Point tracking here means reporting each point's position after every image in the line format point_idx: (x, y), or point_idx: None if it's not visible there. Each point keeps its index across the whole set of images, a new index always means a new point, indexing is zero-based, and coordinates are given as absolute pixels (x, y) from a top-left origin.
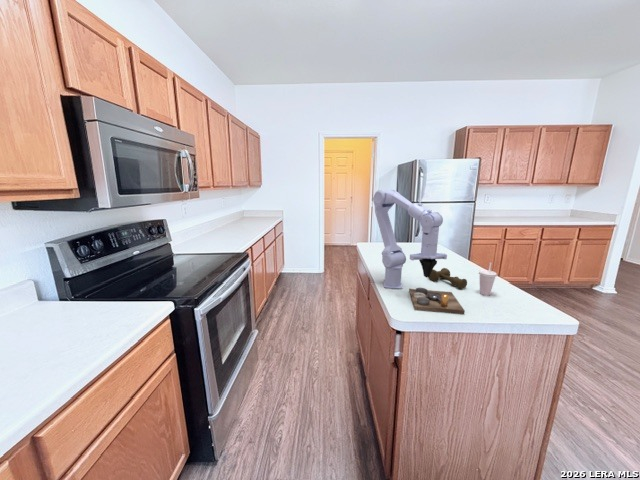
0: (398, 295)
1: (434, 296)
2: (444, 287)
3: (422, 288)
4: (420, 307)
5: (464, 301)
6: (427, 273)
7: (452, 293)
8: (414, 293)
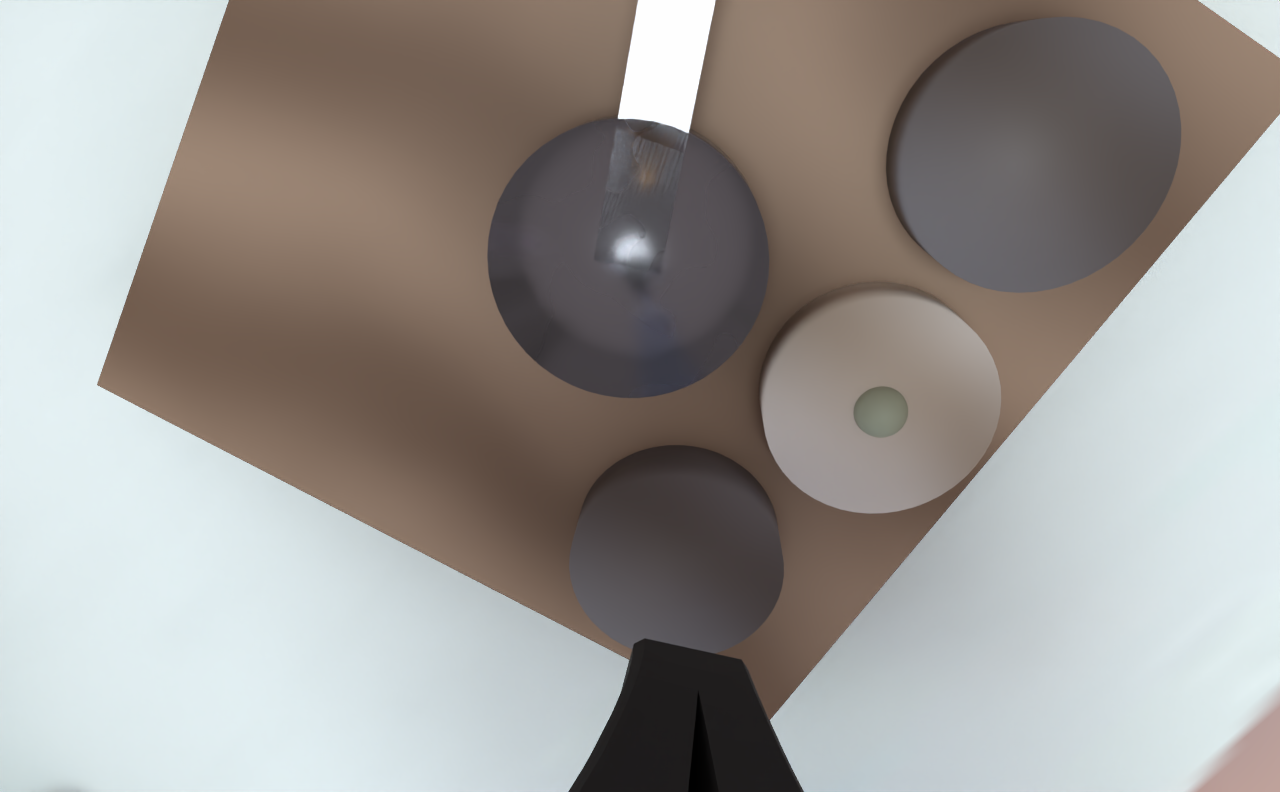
0: (1022, 644)
1: (683, 208)
2: (63, 633)
3: (619, 607)
4: (1205, 16)
5: (49, 69)
6: (752, 747)
7: (118, 325)
8: (940, 489)
